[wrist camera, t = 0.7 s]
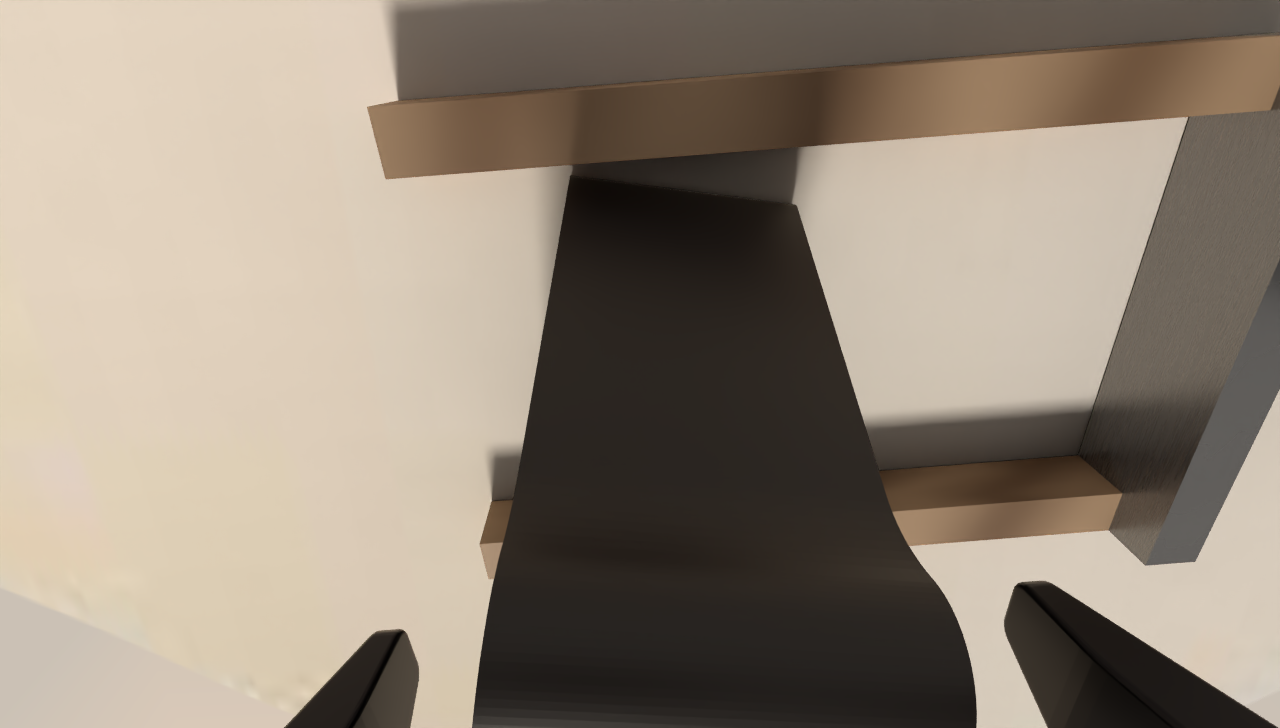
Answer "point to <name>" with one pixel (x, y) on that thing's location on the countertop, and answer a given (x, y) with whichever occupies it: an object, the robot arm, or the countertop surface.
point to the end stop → (1195, 340)
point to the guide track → (853, 113)
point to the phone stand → (704, 496)
